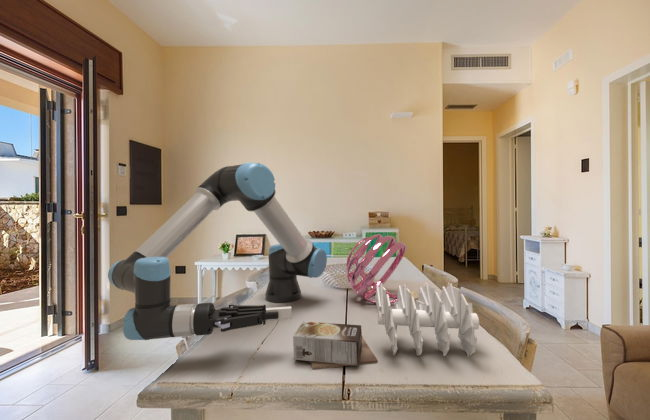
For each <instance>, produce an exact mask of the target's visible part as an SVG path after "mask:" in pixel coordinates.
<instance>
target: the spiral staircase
mask: <svg viewBox="0 0 650 420" xmlns="http://www.w3.org/2000/svg"><path fill="white" fill-rule="evenodd" d="M422 287H423V288H422ZM386 291H387V289H386V288H385V287H384V285H382V283H380V286H379V287H378V286H377V287H376V293H375V301H376V304H375V305H376V313H377V324H378V325H383V326H384V328H385V329H384V330H385V331H386V335H387V336H388V338H389V340H390V343H391V349H392V356H396V353H397V351H398V335H397V329H398V326H403V327H405V326H406V327H408V329H409V334H410V336H411V337H412V339H413V349H415V351H416V352H415V353H416V357H420V355H421V356H422V352H423V345H424V340H423V337H422V330H421V327H422V328H423V327H424V328H425V327H426V328H434V333H435V338H436V341H437V342H438V343H437V344H438V351H440V352H442V355H443V357H446V355H447V354H448V352H449V351H450V341H451V340H450V339H451V333H450V332H449V329H457V330H458V334H457V337H458V339H459V340H460V342H461V350H462V351H463V352H466V355H467V358H471V356H473V354H475V353H476V348H477V341H478V338H477V336H476V335H475V330H478V329H479V327H480V319H479V315H478V314H477V313H476V312H474V310H473V303H472V302H468V301H467V299H466V297H465V296H464V294H463V293H461V289H460V288H458V287H455V286H453V283H452V282H450V283H449V284H448V285H447V286H446V287H445V286H444V285H443V286H441V290H440V291H441V293H440V295H439V293H438V292H437V291H435V287H434V286H429V283H428V282H425V284H424V285H423V286H420V287H419V290H418V295H419V296H418V300H419V301H418V300H416V305H415V301H414V297H411V292H410V291H411V290H410V289H409V288H407V284H406V283H404V284H403V285H400V284H399V285H398V287H397V293H396V295H397V298H396V299H398V301H397V302H394V303H393V304H394V305H393V306H394V308H391V304H390V301H391V300H390V297H389V295H388V294H386Z"/></svg>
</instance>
